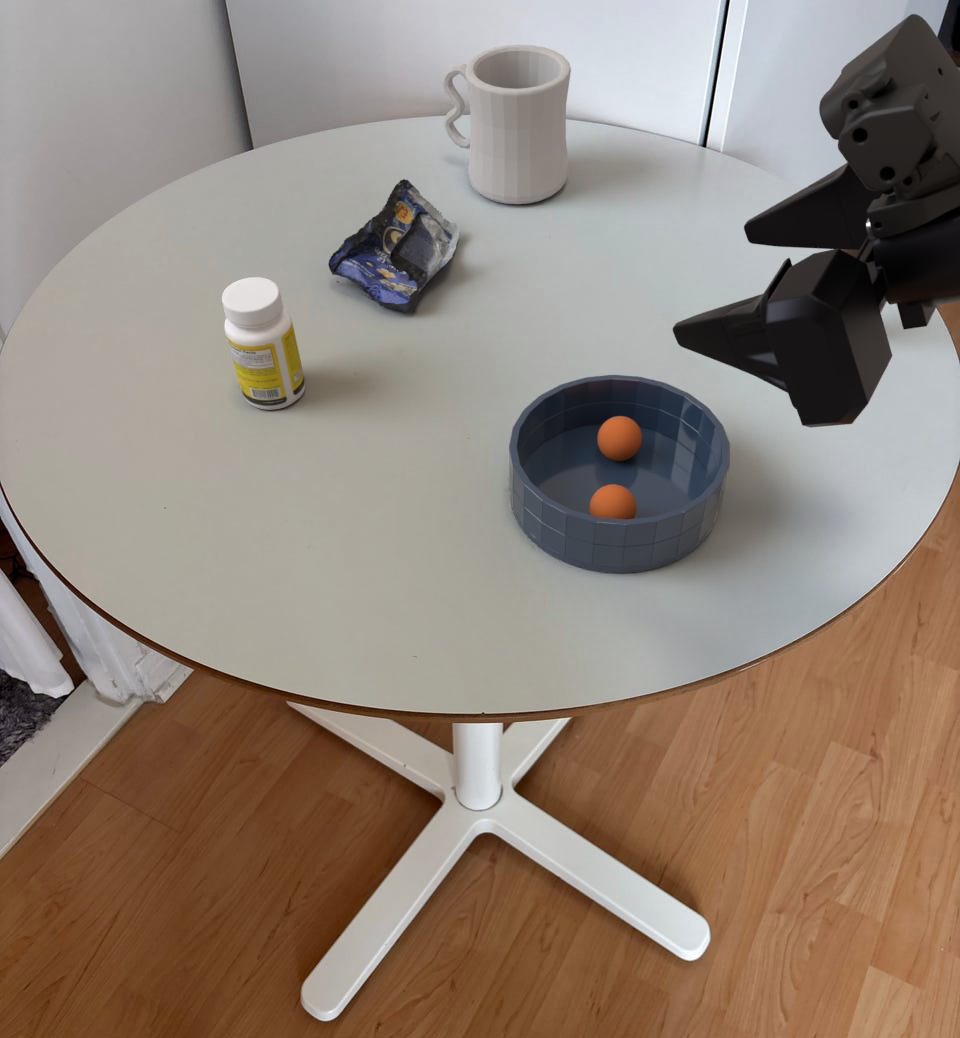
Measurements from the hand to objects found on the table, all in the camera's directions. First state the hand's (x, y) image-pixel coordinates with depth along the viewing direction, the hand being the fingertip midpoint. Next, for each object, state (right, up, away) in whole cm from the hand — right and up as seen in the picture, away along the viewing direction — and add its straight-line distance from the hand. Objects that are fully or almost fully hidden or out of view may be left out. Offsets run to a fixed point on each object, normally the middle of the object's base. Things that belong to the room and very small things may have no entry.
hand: (713, 281), depth 51 cm
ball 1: (-2, -4, +18) cm, 19 cm away
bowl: (-3, -8, +18) cm, 20 cm away
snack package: (-18, +12, +34) cm, 40 cm away
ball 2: (-3, -10, +14) cm, 17 cm away
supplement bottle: (-27, +1, +25) cm, 37 cm away
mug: (-10, +25, +43) cm, 50 cm away
